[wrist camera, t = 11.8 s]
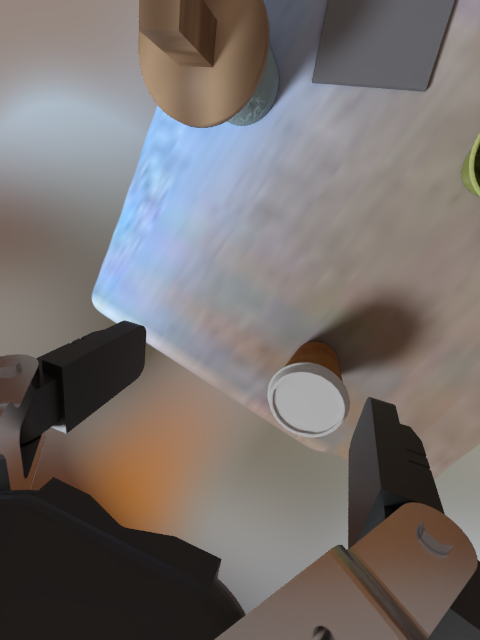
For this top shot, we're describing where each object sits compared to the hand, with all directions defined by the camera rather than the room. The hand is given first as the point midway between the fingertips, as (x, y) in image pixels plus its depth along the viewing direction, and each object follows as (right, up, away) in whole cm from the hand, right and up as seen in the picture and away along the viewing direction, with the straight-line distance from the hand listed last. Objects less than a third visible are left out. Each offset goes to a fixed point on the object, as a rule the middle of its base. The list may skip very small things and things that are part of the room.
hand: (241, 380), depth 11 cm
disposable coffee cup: (+11, -4, +36) cm, 38 cm away
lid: (-3, +26, +17) cm, 31 cm away
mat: (+15, +33, +21) cm, 42 cm away
